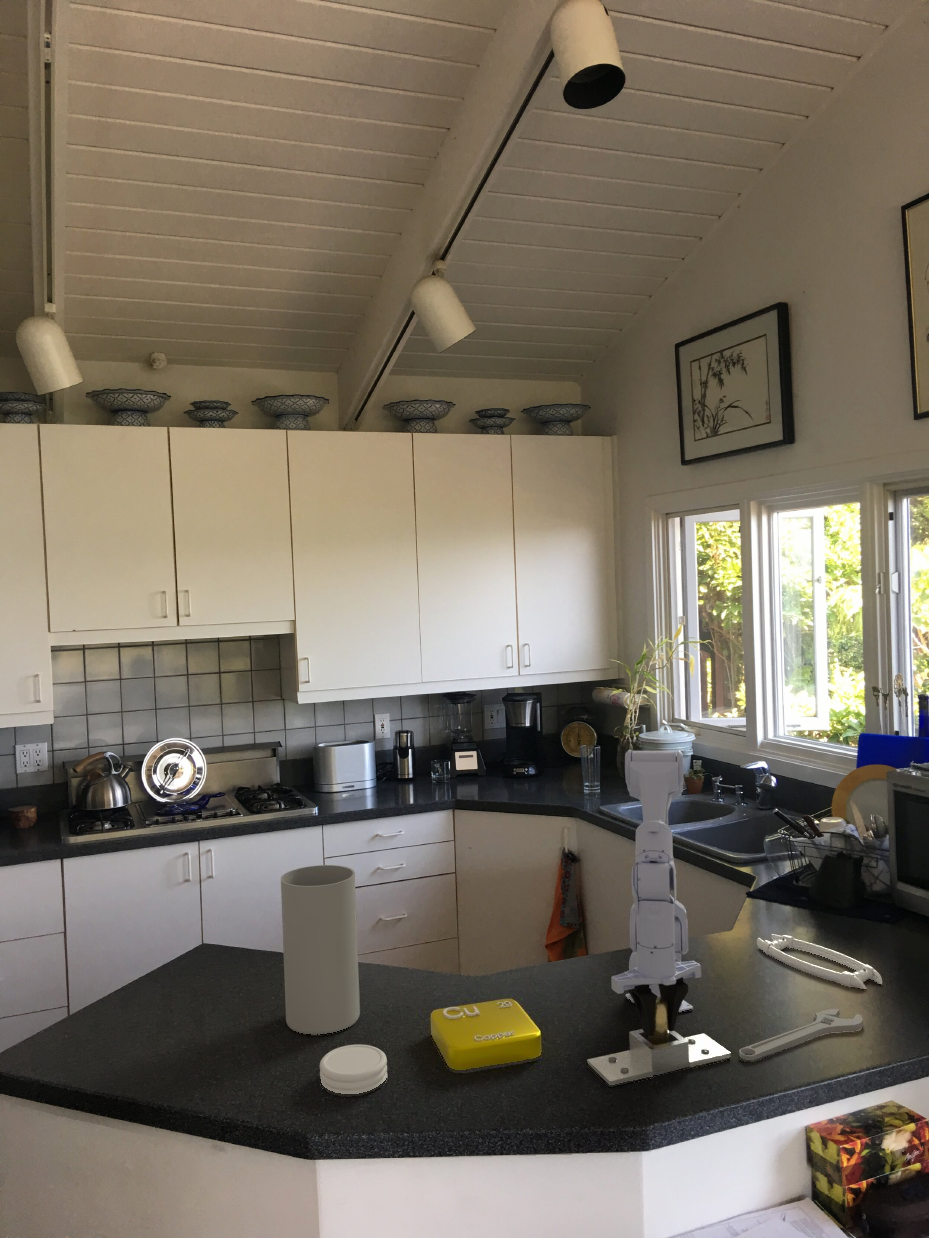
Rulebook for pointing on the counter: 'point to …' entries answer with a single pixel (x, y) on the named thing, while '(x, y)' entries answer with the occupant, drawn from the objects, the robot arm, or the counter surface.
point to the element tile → (485, 1034)
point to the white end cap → (353, 1069)
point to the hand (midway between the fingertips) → (658, 1030)
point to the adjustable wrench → (803, 1033)
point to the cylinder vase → (320, 949)
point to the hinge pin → (660, 1022)
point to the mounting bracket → (657, 1057)
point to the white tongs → (842, 978)
